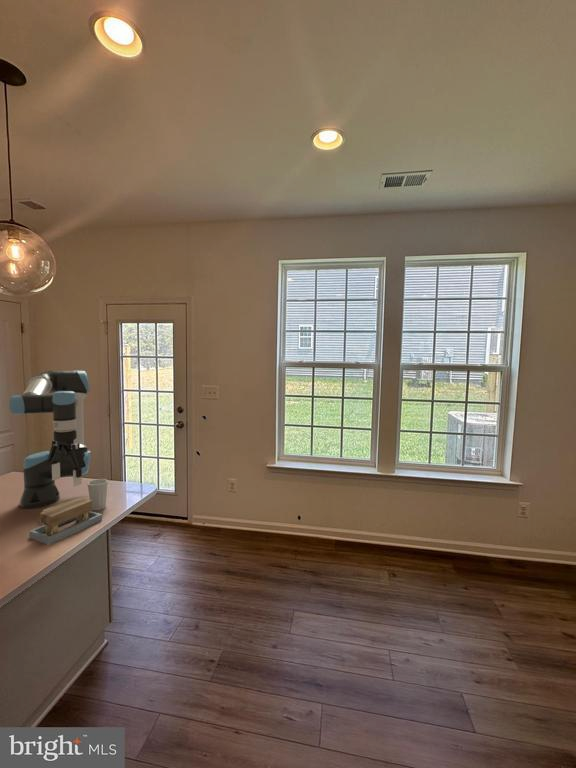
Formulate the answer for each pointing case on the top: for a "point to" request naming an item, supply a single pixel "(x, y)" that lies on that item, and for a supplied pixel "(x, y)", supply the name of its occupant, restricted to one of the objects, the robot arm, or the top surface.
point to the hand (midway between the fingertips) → (66, 482)
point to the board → (65, 512)
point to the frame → (57, 536)
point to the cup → (98, 493)
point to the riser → (57, 505)
